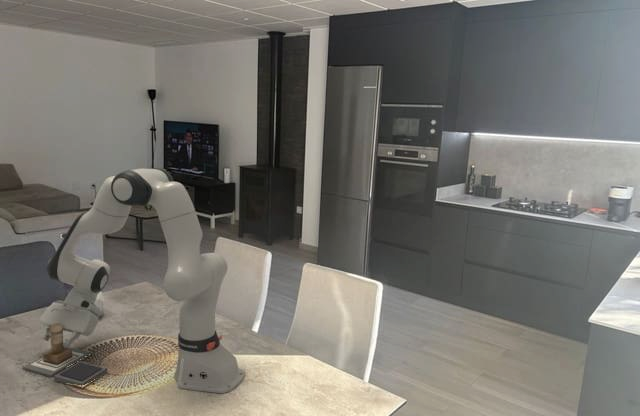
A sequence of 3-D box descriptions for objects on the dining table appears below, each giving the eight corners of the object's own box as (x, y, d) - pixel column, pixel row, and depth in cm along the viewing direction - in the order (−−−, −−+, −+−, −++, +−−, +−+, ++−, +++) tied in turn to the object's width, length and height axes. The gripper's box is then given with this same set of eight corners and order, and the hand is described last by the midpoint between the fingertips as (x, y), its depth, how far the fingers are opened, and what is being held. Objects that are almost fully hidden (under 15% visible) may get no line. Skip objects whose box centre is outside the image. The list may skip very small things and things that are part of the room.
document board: (91, 354, 161) (91, 352, 161) (51, 377, 146) (50, 374, 146) (64, 347, 165) (64, 345, 165) (22, 369, 150) (22, 366, 150)
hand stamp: (72, 357, 157) (70, 321, 155) (57, 365, 152) (55, 329, 149) (58, 353, 159) (56, 318, 157) (43, 361, 153) (41, 325, 151)
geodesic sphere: (52, 305, 186) (67, 282, 181) (79, 294, 199) (93, 272, 194) (76, 331, 184) (92, 308, 180) (101, 318, 197) (117, 296, 193)
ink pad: (107, 372, 150) (106, 367, 150) (82, 388, 141) (81, 382, 141) (80, 365, 154) (80, 360, 153) (54, 380, 144) (54, 375, 144)
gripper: (49, 295, 162) (25, 333, 154) (95, 305, 155) (73, 345, 148) (60, 303, 167) (38, 340, 159) (106, 313, 160) (85, 351, 153)
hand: (55, 342), depth 154 cm, fingers open, 8 cm apart
